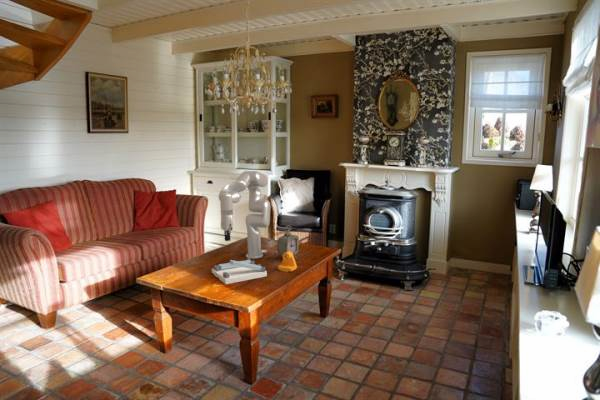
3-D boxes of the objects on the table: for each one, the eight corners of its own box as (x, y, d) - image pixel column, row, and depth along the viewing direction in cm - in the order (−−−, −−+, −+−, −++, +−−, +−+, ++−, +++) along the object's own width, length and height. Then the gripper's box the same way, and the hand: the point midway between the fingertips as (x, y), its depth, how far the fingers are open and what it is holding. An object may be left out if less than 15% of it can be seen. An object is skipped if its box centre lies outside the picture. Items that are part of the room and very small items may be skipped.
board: (251, 266, 311) (250, 257, 310) (266, 276, 291) (266, 267, 290) (211, 273, 297) (211, 264, 296) (225, 284, 277) (225, 274, 276)
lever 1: (249, 262, 308) (249, 259, 308) (252, 264, 304) (252, 261, 304) (218, 267, 297) (218, 264, 297) (221, 269, 293) (221, 266, 293)
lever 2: (259, 268, 295) (260, 266, 295) (262, 271, 291) (263, 268, 291) (229, 262, 283) (230, 259, 283) (232, 265, 279) (233, 261, 279)
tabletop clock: (286, 263, 317) (286, 228, 313) (276, 260, 323) (276, 226, 319) (299, 258, 329) (298, 224, 325) (289, 256, 334) (288, 222, 330)
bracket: (277, 270, 302) (276, 252, 300) (282, 267, 308) (282, 250, 307) (291, 272, 297) (291, 255, 295) (296, 269, 303) (296, 252, 301)
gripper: (217, 211, 293) (218, 238, 296) (225, 214, 280) (226, 243, 283) (228, 210, 297) (228, 237, 300) (236, 213, 284) (237, 242, 287)
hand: (227, 240), depth 292 cm, fingers closed
